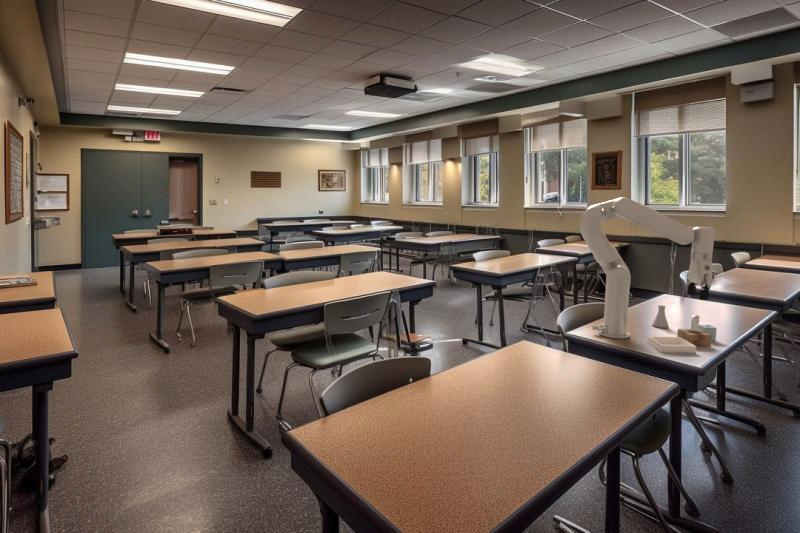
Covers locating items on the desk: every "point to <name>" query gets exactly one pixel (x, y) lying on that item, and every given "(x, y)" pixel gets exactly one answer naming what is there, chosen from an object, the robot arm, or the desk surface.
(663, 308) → the flask
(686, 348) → the tray
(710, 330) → the block
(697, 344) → the block
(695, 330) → the pin gauge
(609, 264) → the robot arm
